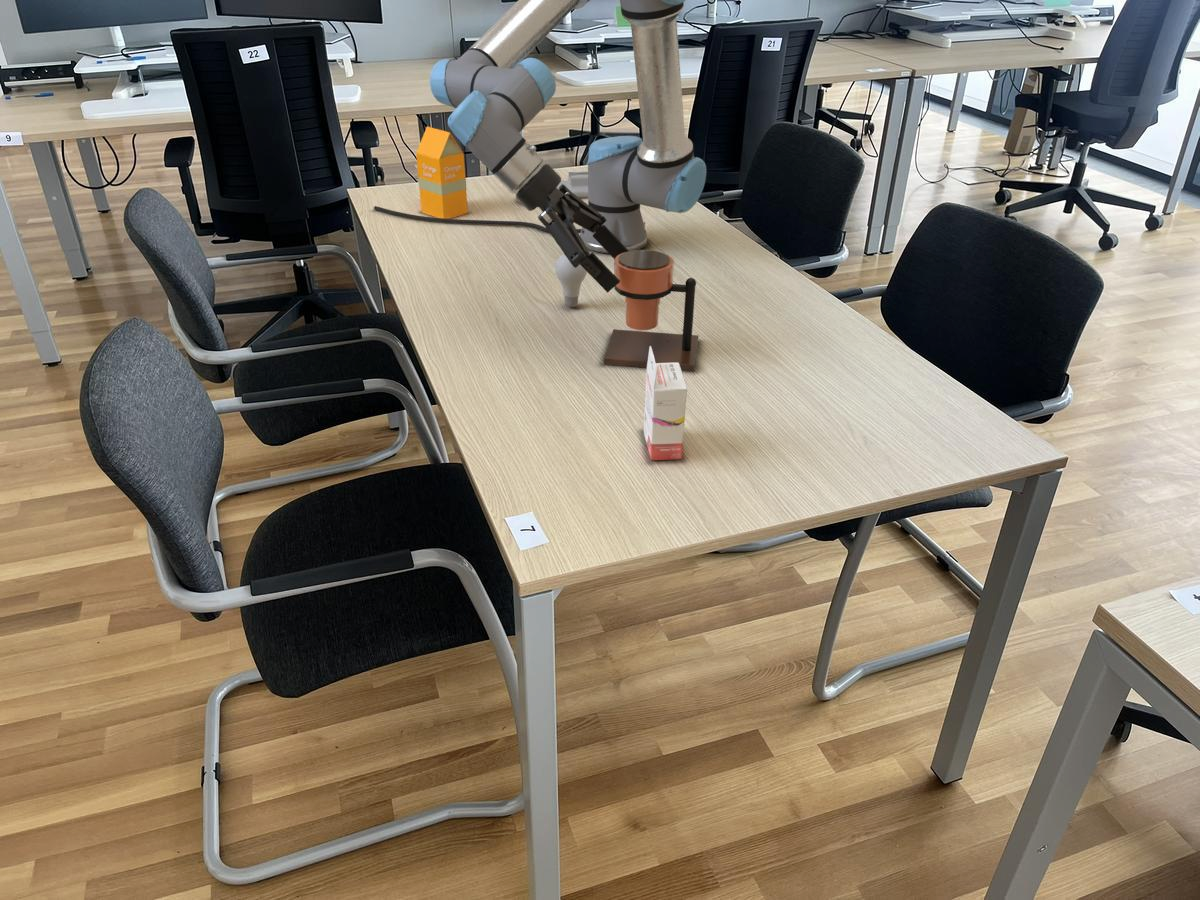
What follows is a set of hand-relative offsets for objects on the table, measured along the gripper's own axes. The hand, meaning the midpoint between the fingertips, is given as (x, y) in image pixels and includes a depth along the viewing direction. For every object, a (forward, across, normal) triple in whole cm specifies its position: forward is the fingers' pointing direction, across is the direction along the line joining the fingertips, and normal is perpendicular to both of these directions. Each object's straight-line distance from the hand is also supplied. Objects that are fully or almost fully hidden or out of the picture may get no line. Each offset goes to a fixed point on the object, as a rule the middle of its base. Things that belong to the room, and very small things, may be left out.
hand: (619, 271), depth 156 cm
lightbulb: (+3, +17, +18) cm, 25 cm away
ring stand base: (+15, 0, +6) cm, 16 cm away
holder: (-5, +90, +26) cm, 94 cm away
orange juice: (-26, +69, +47) cm, 87 cm away
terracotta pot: (+10, 0, +4) cm, 10 cm away
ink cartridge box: (+18, -31, +3) cm, 36 cm away
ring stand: (+14, 0, +5) cm, 15 cm away
